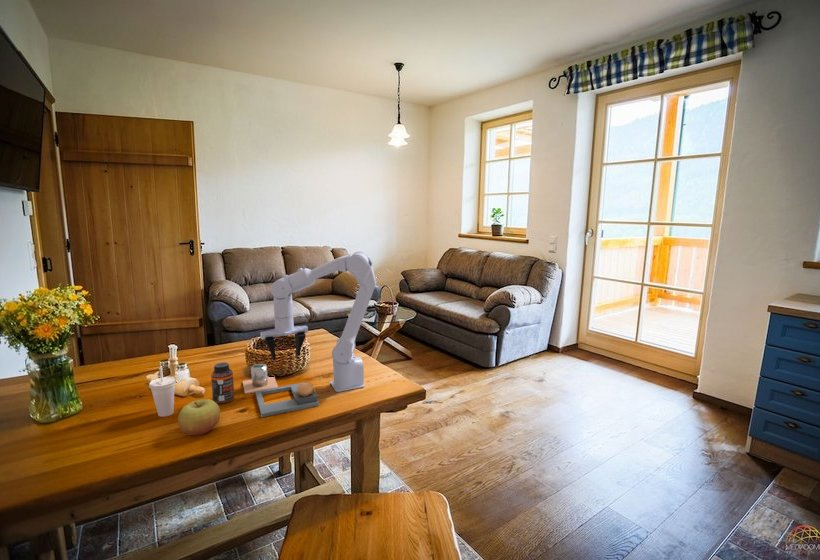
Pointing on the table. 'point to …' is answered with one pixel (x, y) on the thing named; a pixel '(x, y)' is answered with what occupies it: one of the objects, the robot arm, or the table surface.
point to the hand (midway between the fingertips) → (285, 357)
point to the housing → (286, 405)
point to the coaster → (250, 389)
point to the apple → (199, 417)
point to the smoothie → (163, 394)
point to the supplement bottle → (222, 383)
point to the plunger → (305, 389)
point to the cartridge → (259, 375)
